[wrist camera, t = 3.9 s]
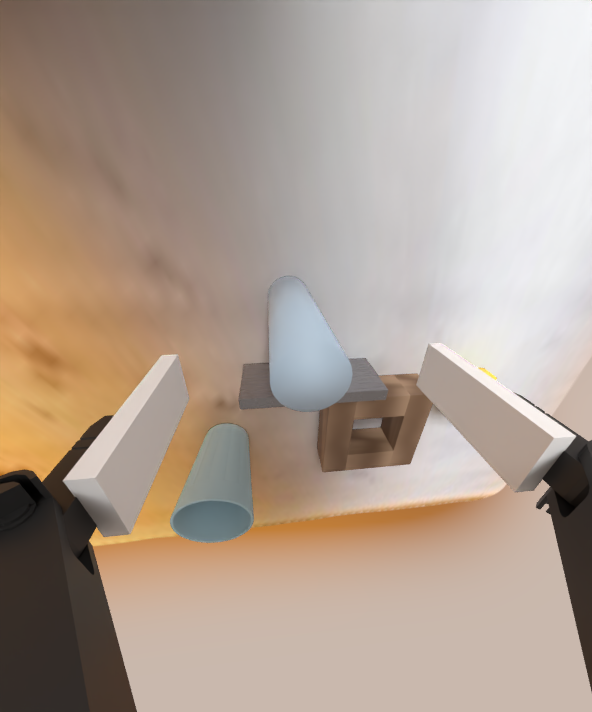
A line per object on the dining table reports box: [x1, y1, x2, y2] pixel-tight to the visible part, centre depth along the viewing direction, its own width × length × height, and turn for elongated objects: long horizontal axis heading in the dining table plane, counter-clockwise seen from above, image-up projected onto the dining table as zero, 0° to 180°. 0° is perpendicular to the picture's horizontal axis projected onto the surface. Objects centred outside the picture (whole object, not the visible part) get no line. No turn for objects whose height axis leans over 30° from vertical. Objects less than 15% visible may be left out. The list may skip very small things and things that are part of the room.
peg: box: [268, 276, 353, 412], centre depth 18 cm, size 4×4×14 cm
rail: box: [239, 358, 388, 409], centre depth 25 cm, size 14×1×6 cm, turn 90°
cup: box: [170, 423, 254, 543], centre depth 28 cm, size 8×8×10 cm
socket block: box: [317, 374, 433, 472], centre depth 31 cm, size 12×12×4 cm
